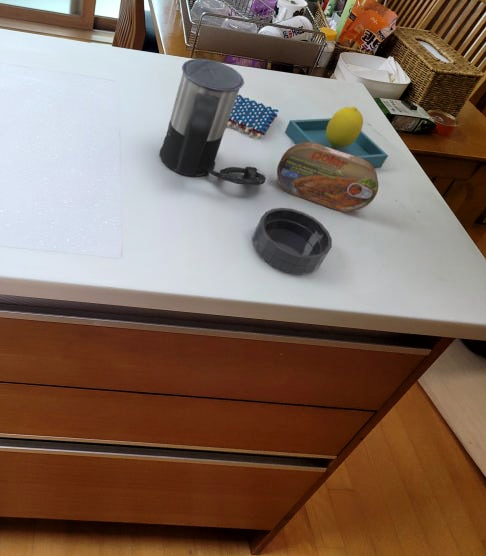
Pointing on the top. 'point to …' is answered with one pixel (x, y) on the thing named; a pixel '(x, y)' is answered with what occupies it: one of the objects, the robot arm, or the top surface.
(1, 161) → the top surface
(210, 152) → the milk frother
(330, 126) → the lemon
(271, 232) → the bowl
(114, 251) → the top surface
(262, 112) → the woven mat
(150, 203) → the top surface
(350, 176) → the tin
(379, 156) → the tray
